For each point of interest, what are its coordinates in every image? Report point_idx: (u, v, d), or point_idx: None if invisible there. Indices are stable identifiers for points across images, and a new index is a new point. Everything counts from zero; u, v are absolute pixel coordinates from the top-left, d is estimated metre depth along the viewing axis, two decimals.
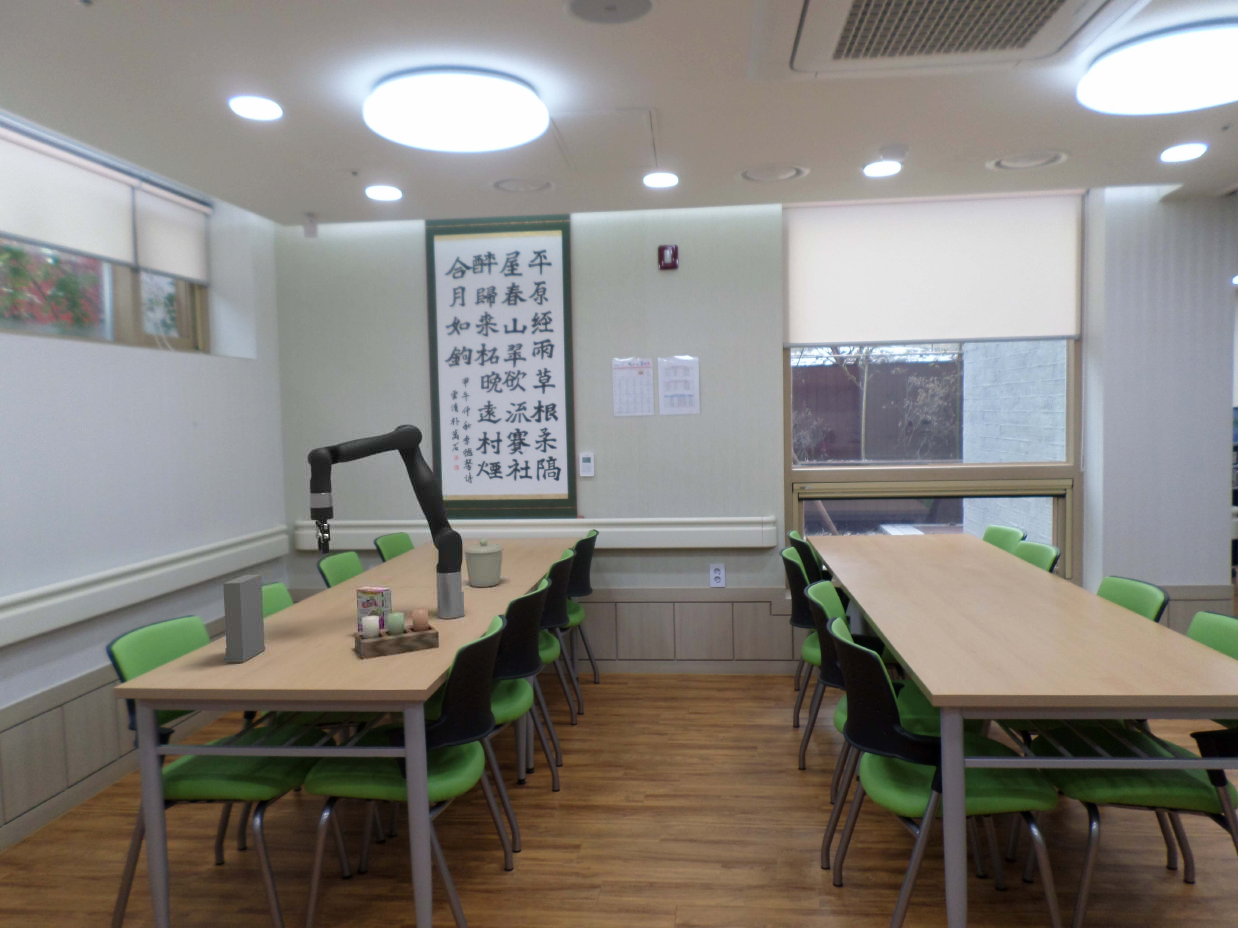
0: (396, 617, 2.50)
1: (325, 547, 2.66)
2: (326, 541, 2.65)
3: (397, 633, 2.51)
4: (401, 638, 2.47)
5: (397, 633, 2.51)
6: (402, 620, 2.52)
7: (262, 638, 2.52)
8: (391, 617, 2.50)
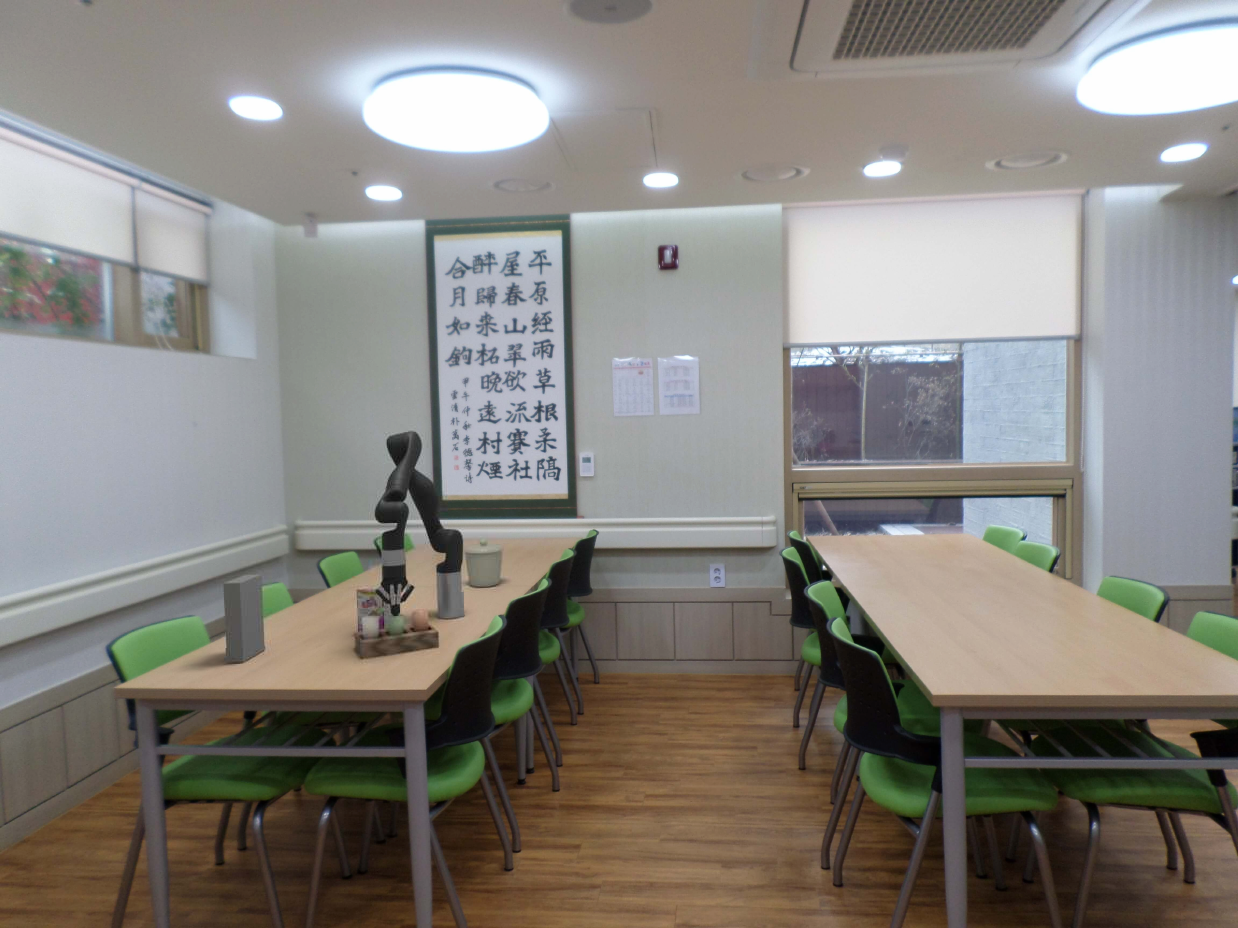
0: (396, 618, 2.50)
1: (399, 608, 2.53)
2: None
3: (397, 634, 2.51)
4: (401, 638, 2.47)
5: None
6: (402, 621, 2.52)
7: (262, 638, 2.52)
8: (391, 618, 2.50)
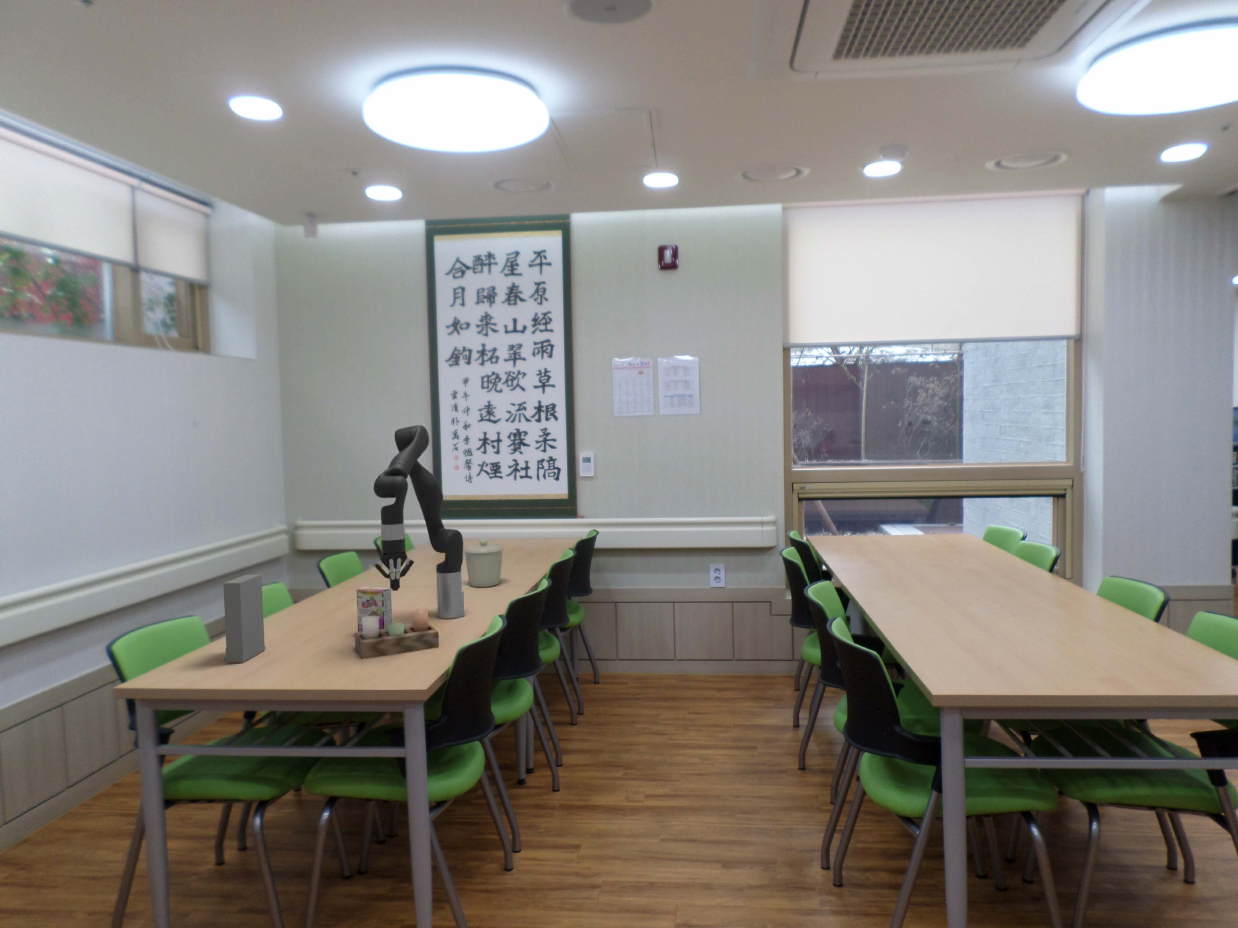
0: (396, 628, 2.51)
1: None
2: None
3: None
4: (401, 638, 2.47)
5: None
6: (402, 631, 2.52)
7: (262, 638, 2.52)
8: (391, 628, 2.50)
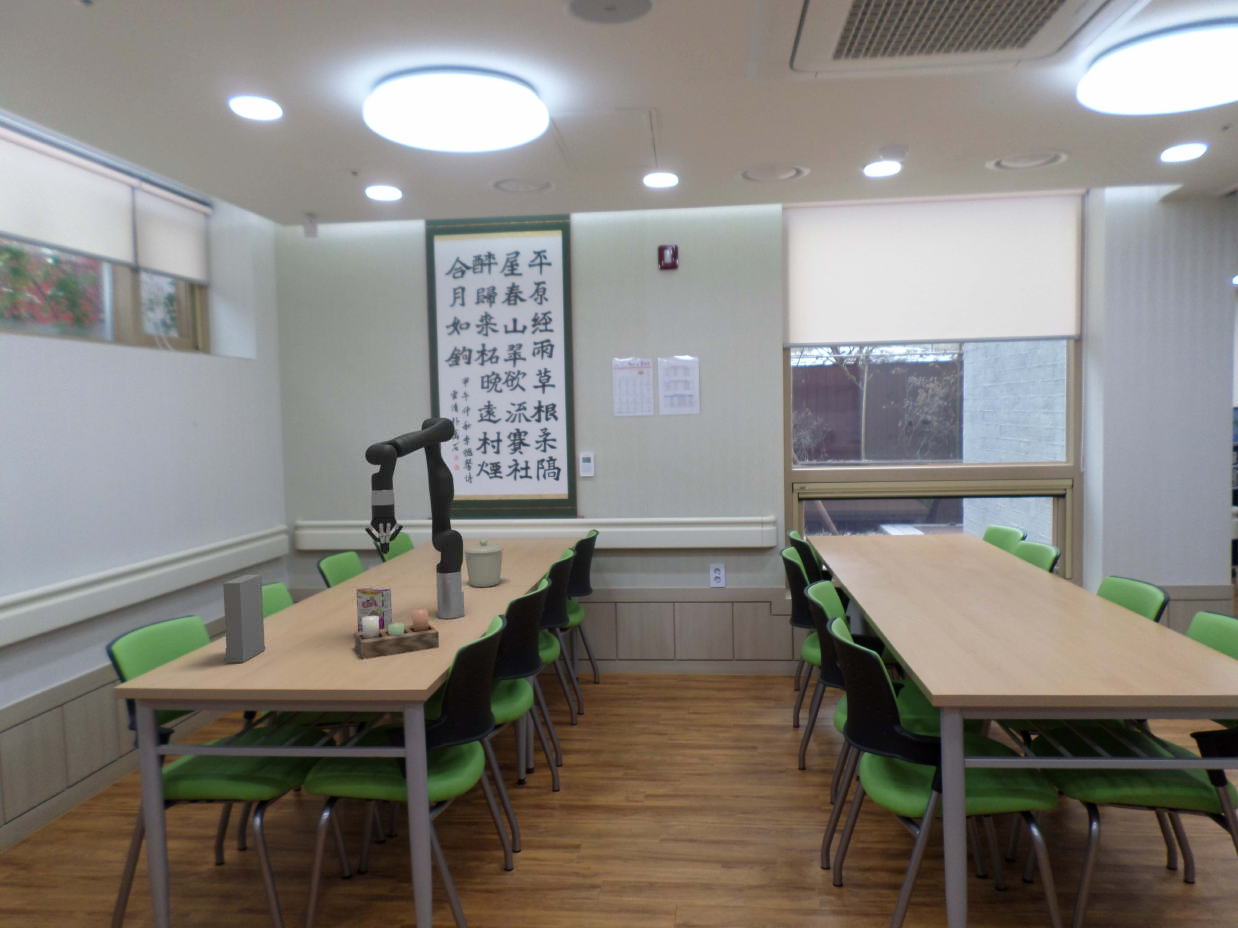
0: (396, 628, 2.51)
1: (388, 547, 2.65)
2: None
3: None
4: (401, 638, 2.47)
5: None
6: (402, 631, 2.52)
7: (262, 638, 2.52)
8: (391, 628, 2.50)
